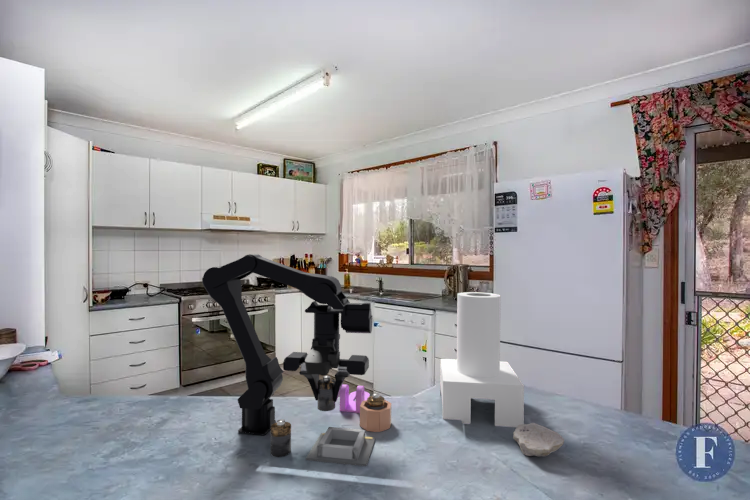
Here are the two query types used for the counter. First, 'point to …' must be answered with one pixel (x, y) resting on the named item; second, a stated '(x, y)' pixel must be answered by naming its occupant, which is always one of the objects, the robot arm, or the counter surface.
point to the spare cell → (280, 438)
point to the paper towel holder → (480, 365)
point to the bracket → (352, 398)
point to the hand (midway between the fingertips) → (326, 400)
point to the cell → (326, 394)
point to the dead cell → (375, 402)
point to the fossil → (537, 439)
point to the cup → (375, 417)
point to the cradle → (342, 447)
